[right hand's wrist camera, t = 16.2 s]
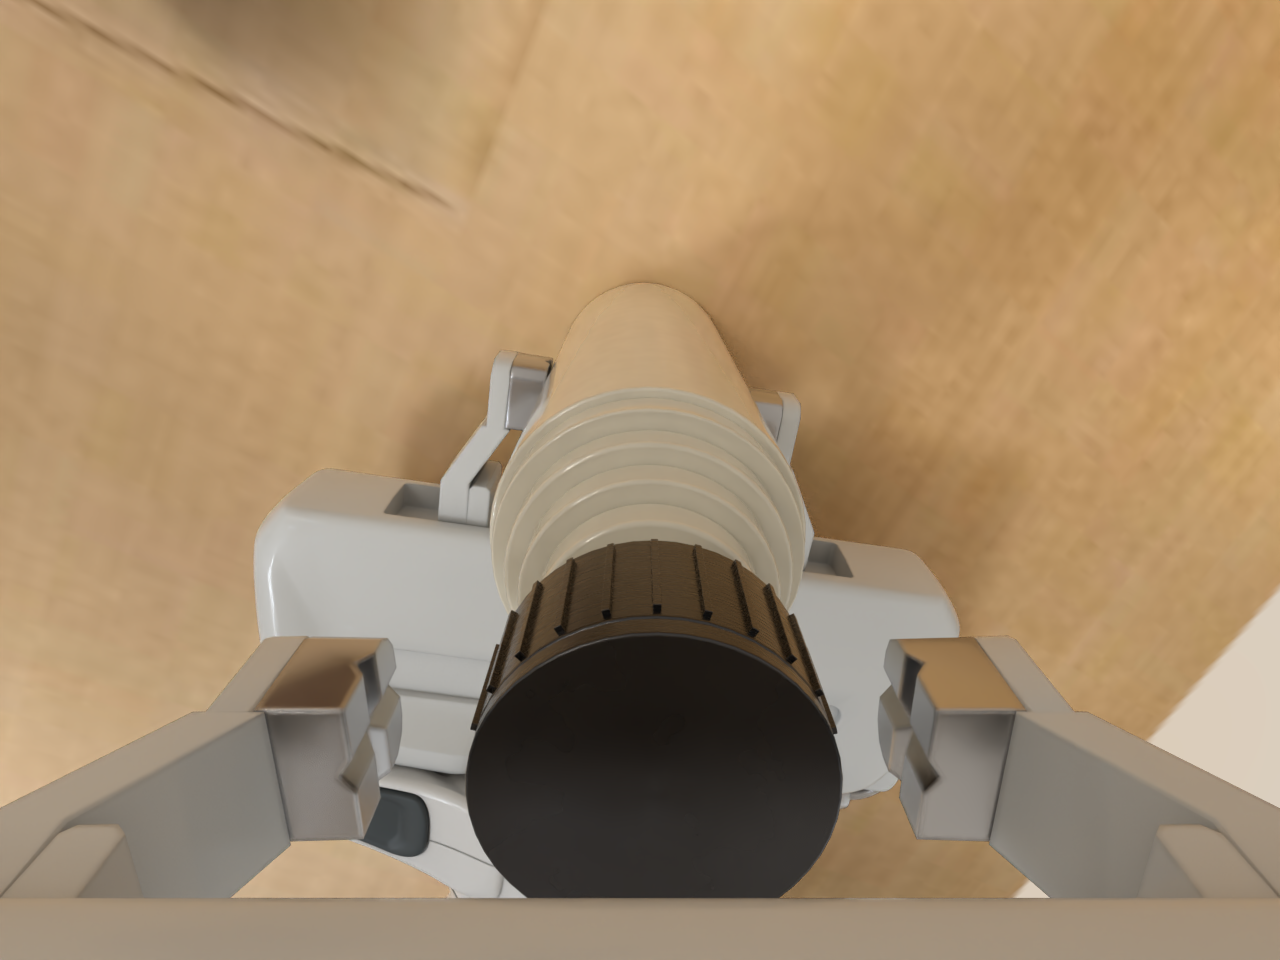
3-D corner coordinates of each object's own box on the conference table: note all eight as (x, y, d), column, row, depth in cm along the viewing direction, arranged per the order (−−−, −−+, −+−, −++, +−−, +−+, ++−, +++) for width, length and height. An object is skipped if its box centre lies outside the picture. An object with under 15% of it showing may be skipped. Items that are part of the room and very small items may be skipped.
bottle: (571, 272, 26) (402, 498, 8) (736, 294, 27) (973, 567, 8) (555, 431, 28) (387, 932, 9) (709, 450, 29) (848, 975, 10)
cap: (452, 744, 10) (408, 876, 9) (562, 486, 9) (542, 570, 7) (725, 838, 11) (743, 983, 9) (863, 605, 10) (921, 712, 8)
